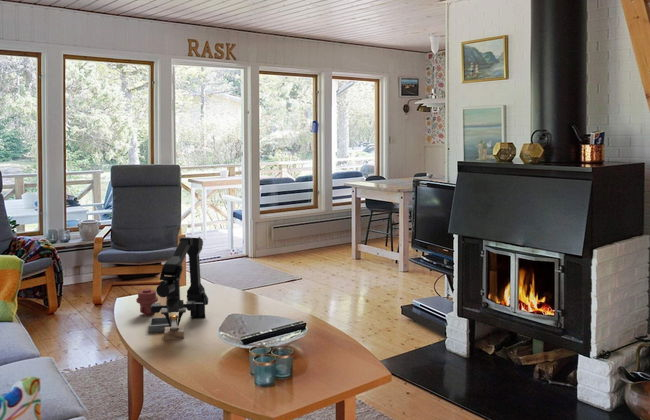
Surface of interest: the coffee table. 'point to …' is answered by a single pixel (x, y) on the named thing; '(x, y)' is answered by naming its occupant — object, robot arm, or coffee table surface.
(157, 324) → the tray
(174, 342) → the coffee table surface
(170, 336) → the block
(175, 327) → the lock pin
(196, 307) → the robot arm
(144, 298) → the mechanical component
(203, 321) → the coffee table surface
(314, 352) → the coffee table surface
